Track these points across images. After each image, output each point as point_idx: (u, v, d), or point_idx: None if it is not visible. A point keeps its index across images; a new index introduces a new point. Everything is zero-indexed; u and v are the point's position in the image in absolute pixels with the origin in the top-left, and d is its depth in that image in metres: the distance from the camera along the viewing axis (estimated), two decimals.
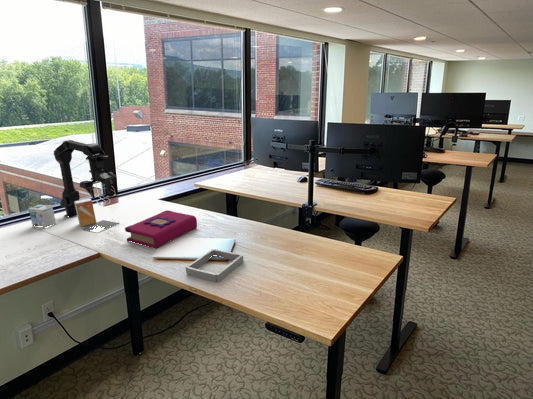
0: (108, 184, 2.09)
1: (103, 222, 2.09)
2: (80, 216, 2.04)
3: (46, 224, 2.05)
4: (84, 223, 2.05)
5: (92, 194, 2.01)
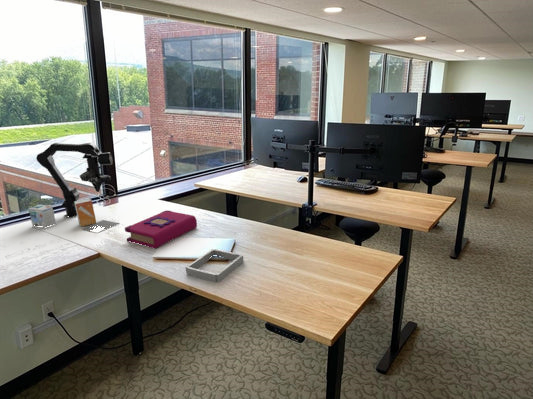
0: None
1: (103, 222, 2.09)
2: (80, 216, 2.04)
3: (46, 224, 2.05)
4: (84, 223, 2.05)
5: (94, 187, 2.21)
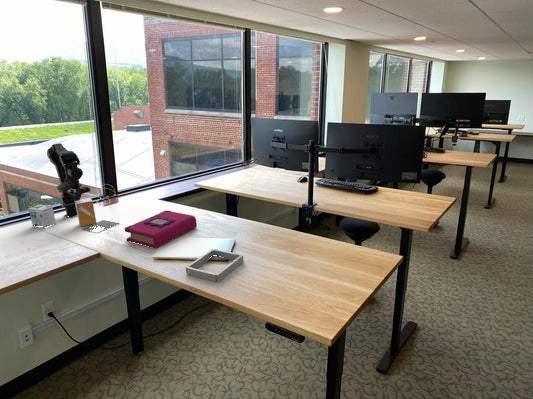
0: None
1: (103, 222, 2.09)
2: (80, 216, 2.03)
3: (46, 224, 2.05)
4: (84, 223, 2.05)
5: (73, 199, 2.07)
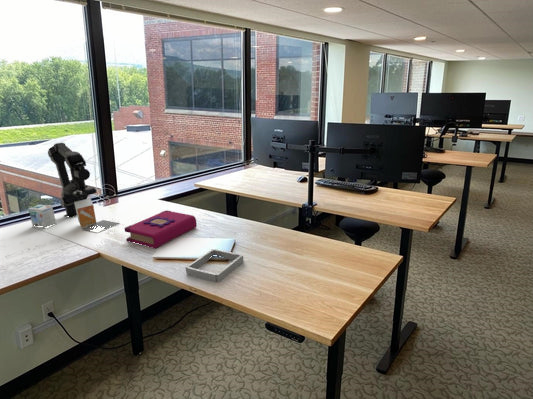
0: None
1: (103, 222, 2.09)
2: (81, 219, 2.02)
3: (46, 224, 2.05)
4: (84, 224, 2.05)
5: (79, 200, 2.05)
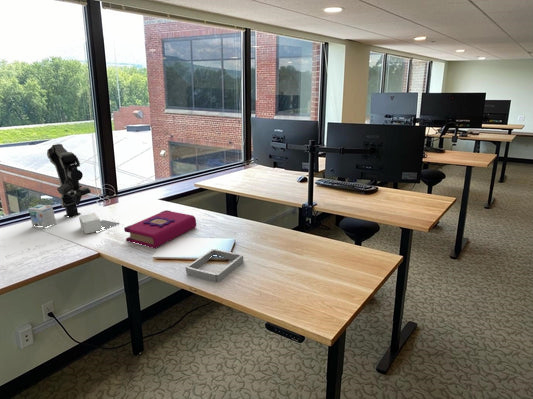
0: None
1: (103, 222, 2.09)
2: None
3: (46, 224, 2.05)
4: None
5: (73, 200, 2.08)
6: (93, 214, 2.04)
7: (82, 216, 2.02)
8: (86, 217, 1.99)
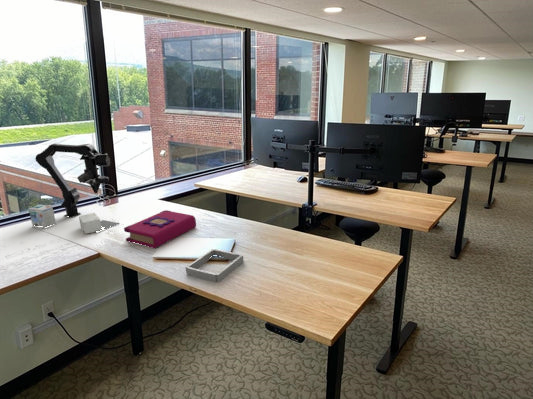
0: None
1: (103, 222, 2.09)
2: None
3: (46, 224, 2.05)
4: None
5: None
6: (93, 214, 2.04)
7: (82, 216, 2.02)
8: (86, 217, 1.99)
